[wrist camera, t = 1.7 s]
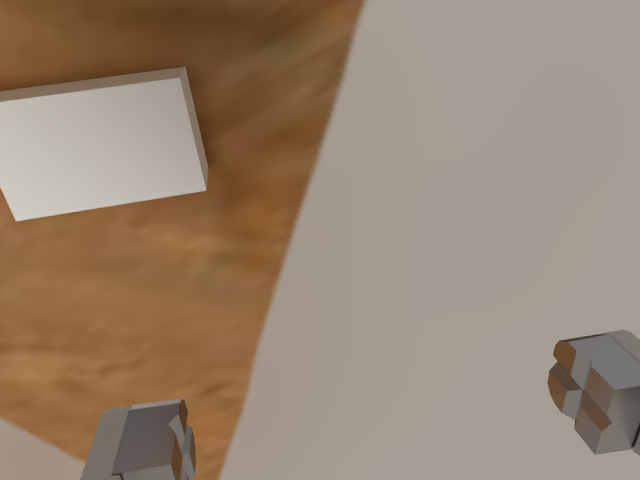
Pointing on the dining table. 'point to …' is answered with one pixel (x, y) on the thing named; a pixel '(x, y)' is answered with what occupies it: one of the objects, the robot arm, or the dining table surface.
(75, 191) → the offwhite block
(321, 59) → the dining table surface
